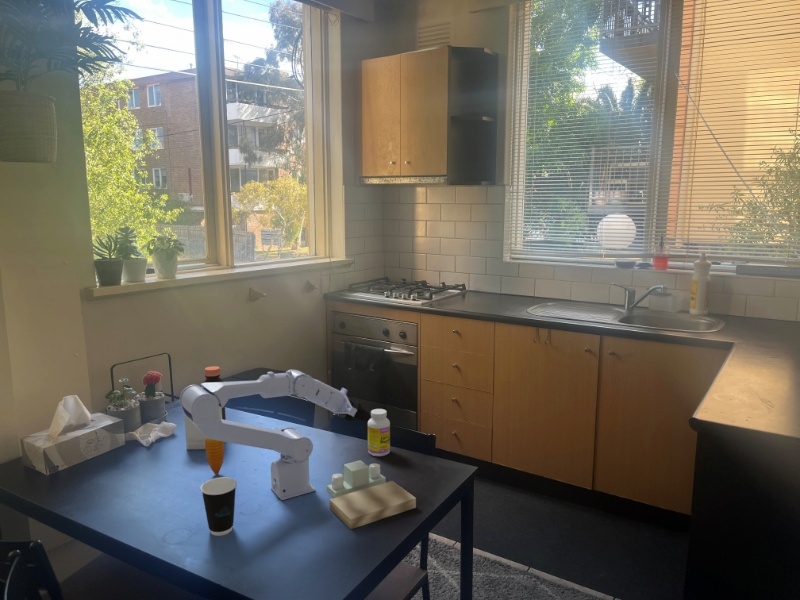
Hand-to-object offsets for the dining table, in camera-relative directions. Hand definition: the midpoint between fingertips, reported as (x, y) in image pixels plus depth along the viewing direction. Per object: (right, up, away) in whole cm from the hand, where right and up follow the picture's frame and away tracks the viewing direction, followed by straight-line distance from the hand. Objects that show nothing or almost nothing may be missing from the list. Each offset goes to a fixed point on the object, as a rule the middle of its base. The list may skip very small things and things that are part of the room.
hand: (361, 413), depth 165 cm
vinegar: (-51, -11, +35) cm, 63 cm away
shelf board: (+4, -20, -19) cm, 28 cm away
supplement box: (-50, -14, +20) cm, 55 cm away
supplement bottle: (+4, -14, +13) cm, 20 cm away
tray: (-1, -18, -8) cm, 20 cm away
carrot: (-40, -17, -1) cm, 43 cm away
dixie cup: (-30, -21, -29) cm, 47 cm away
